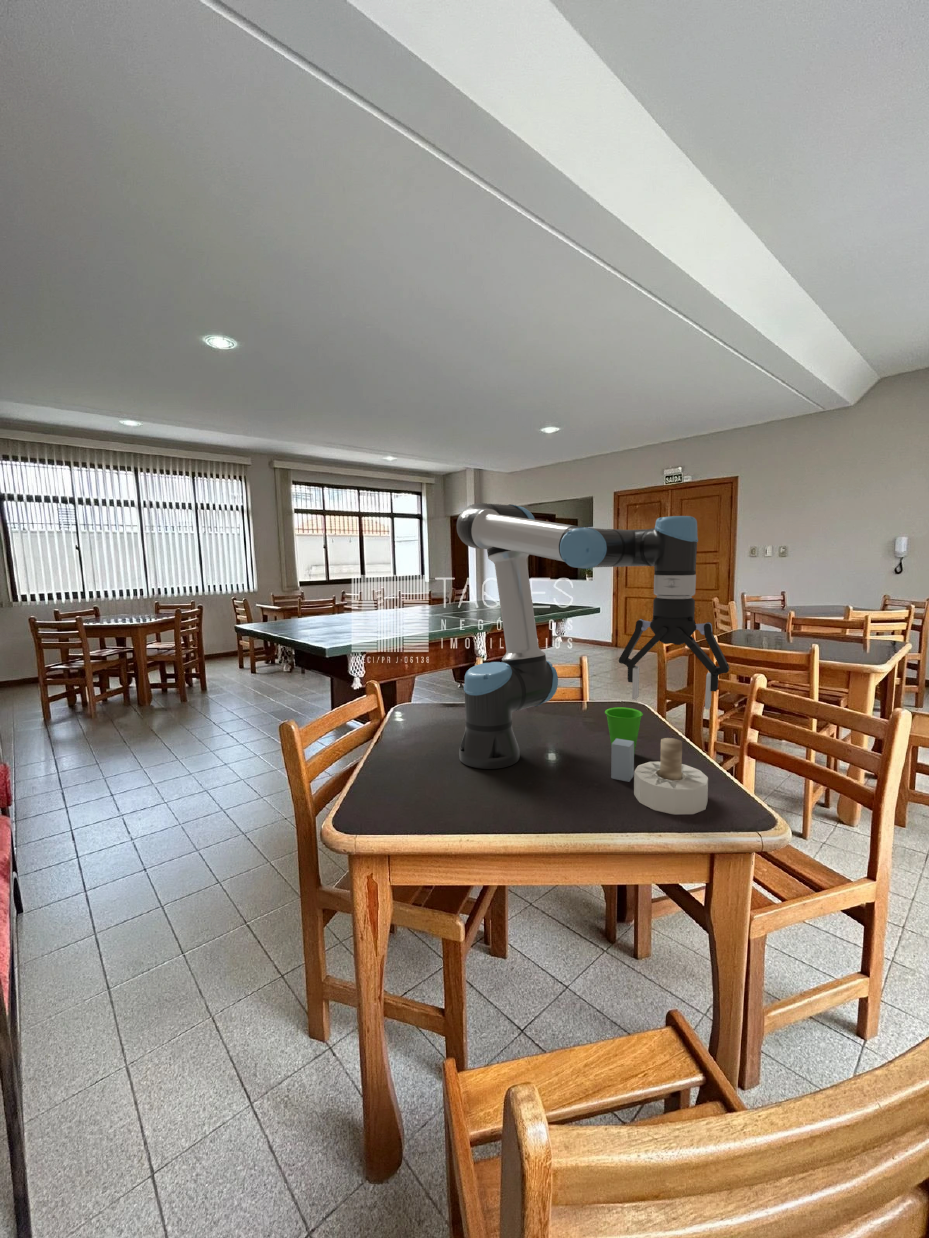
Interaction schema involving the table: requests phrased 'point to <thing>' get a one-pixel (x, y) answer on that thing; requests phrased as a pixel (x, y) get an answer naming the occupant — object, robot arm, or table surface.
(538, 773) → the table surface
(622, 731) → the cup
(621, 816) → the table surface
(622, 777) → the square peg
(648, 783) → the socket
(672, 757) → the dowel
